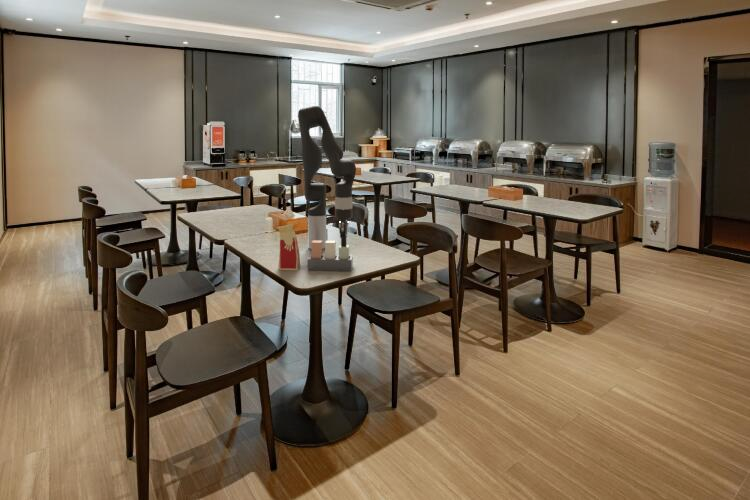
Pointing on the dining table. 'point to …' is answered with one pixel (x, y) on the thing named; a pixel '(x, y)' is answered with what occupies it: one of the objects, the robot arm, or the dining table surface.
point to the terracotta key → (316, 249)
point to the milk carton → (288, 249)
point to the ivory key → (330, 249)
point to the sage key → (344, 252)
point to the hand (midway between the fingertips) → (343, 246)
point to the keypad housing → (330, 264)
